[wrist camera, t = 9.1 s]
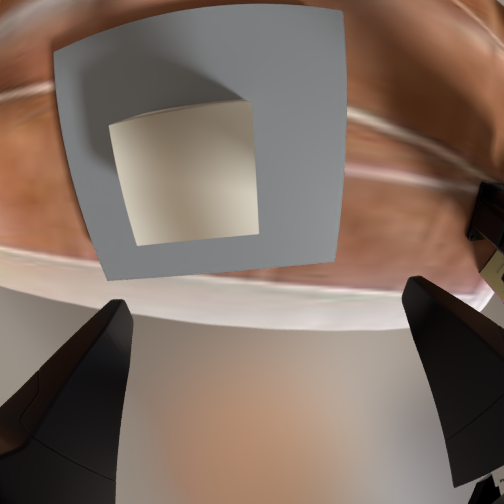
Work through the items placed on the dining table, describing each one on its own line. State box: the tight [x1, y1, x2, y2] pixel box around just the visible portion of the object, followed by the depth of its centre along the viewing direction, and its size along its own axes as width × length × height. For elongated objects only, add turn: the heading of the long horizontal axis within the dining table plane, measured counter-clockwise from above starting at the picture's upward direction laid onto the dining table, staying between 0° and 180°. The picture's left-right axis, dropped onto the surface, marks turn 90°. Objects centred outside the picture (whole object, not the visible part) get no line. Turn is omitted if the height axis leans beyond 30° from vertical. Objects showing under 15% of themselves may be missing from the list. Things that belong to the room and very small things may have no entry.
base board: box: [53, 4, 347, 281], centre depth 15 cm, size 16×16×3 cm
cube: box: [109, 99, 259, 246], centre depth 11 cm, size 5×5×5 cm
